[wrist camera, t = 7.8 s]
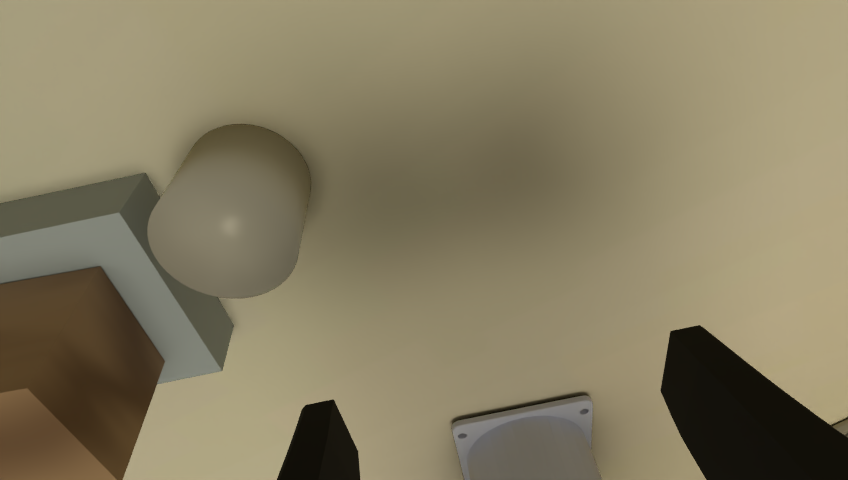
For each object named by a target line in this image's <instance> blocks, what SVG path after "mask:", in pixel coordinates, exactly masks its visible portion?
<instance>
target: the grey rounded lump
mask: <svg viewBox="0 0 848 480" xmlns="http://www.w3.org/2000/svg"><path fill="white" fill-rule="evenodd" d="M310 190H311V179H310V174H309V170H308V167H307V165H306V163H305V161H304V159H303V157H302V156H301V154H300V153H299V152H298V151H297V149H296V148H295V147H294V146H293V145H292V144H291V143H289V142H288V141H287V140H286V139H284V138H283V137H281V136H280V135H278V134H276V133H274V132H272V131H270V130H268V129H265V128H262V127H258V126H254V125H247V124H233V125H226V126H222V127H218V128H216V129H214V130H211V131H210V132H208V133H206V134H205V135H204V136H202V137H201V138H200V139H199V140H198V141H197V142H196V143H195V145H194V146H193V148H192V149H191V151H190V152H189V154H188V155H187V157H186V159H185V160H184V162H183V163H182V165H181V166H180V168H179V170H178V171H177V173H176V174H175V176H174V177H173V179H172V181H171V182H170V184H169V185H168V187H167V188H166V190H165V192H164V193H163V195H162V196H161V198H160V199H159V201H158V202H157V204H156V206H155V207H154V209H153V211H152V212H151V215H150V218H149V221H148V227H147V235H148V241H149V245H150V247H151V250H152V252H153V254H154V256H155V258H156V259H157V261H158V262H159V264H160V265H161V266H162V267H163V268H164V269H165V270H166V272H168V273H169V274H170V275H171V276H172V277H173V278H175V279H176V280H178V281H179V282H180V283H182V284H184V285H186V286H187V287H189V288H191V289H194V290H196V291H198V292H201V293H204V294H207V295H211V296H215V297H222V298H248V297H254V296H258V295H261V294H264V293H267V292H269V291H271V290H273V289H275V288H276V287H278V286H279V285H281V284H282V283H283V282H284V281H285V280H286V279H287V278H288V277H289V276H290V274H291V273H292V271H293V269H294V268H295V265H296V262H297V259H298V254H299V248H300V243H301V238H302V232H303V227H304V222H305V217H306V211H307V206H308V201H309V196H310Z"/></svg>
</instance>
